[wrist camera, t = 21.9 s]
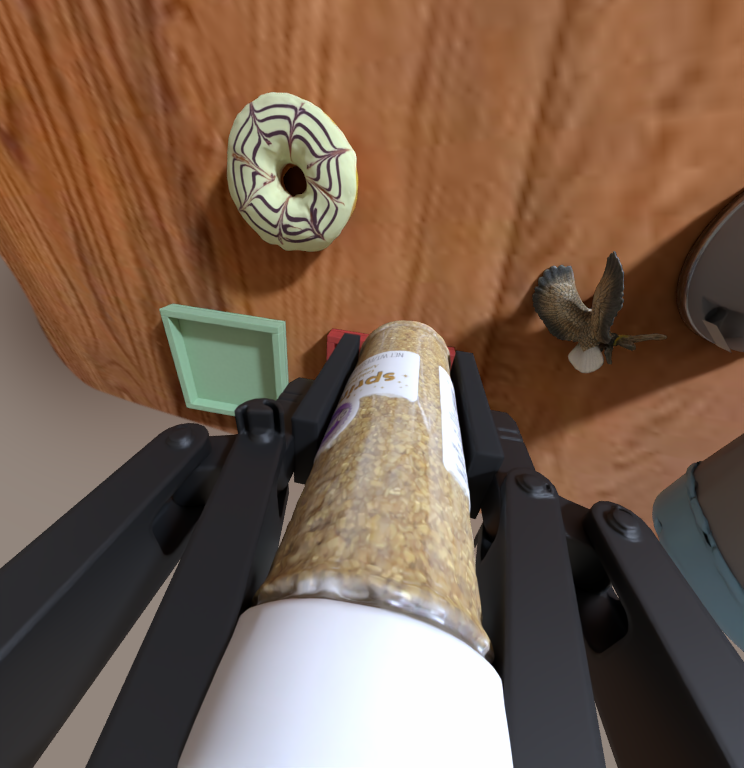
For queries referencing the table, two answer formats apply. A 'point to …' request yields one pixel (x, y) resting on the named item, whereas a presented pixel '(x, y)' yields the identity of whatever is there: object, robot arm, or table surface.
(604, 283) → the eagle figurine
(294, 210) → the decorated donut
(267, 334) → the green tray
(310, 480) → the sprinkles bottle
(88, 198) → the table surface
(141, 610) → the robot arm
